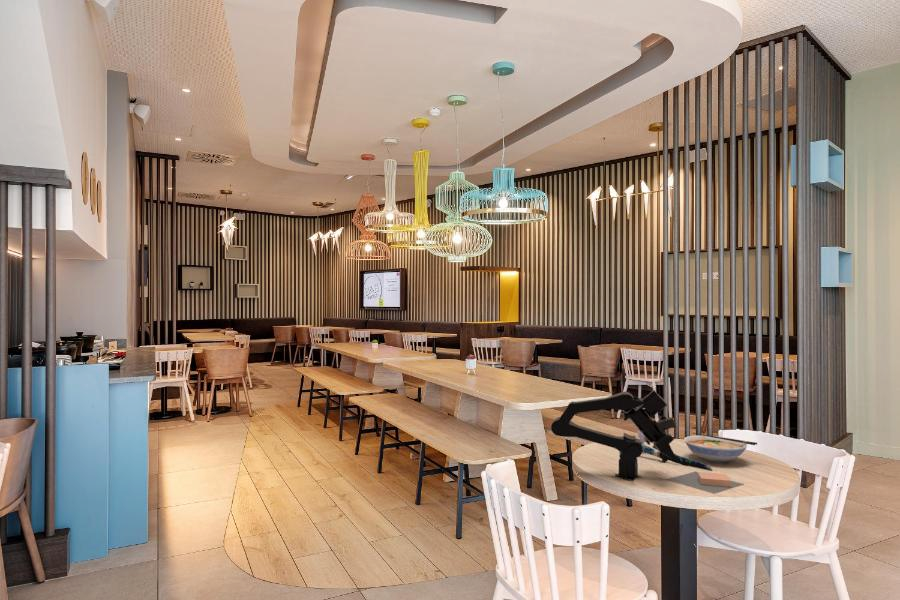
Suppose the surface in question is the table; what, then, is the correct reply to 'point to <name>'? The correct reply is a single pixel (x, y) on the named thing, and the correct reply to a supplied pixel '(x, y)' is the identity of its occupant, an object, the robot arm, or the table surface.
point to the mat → (694, 482)
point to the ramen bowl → (716, 447)
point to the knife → (678, 459)
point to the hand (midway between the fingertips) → (674, 458)
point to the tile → (714, 479)
